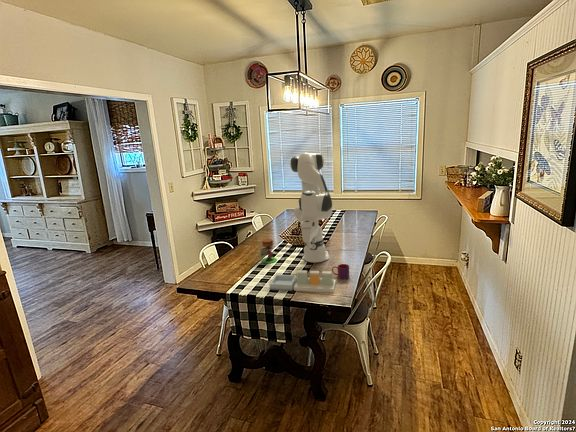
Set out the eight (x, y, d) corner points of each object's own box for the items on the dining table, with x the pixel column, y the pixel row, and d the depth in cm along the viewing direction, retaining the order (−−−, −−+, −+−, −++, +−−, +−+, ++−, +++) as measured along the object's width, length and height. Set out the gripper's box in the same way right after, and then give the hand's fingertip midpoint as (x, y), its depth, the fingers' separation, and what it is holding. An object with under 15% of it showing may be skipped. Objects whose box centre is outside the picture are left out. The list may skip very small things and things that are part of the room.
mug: (348, 279, 188) (348, 268, 187) (331, 278, 192) (331, 267, 190) (350, 274, 194) (349, 264, 193) (333, 273, 198) (333, 263, 196)
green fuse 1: (299, 281, 186) (298, 270, 184) (307, 281, 184) (307, 270, 183) (298, 283, 183) (297, 272, 181) (306, 284, 181) (306, 272, 180)
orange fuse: (311, 282, 184) (310, 270, 182) (319, 282, 182) (319, 270, 181) (310, 284, 181) (309, 272, 179) (319, 284, 180) (318, 273, 178)
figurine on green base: (280, 257, 231) (278, 237, 228) (274, 264, 219) (272, 243, 216) (264, 256, 234) (262, 237, 231) (258, 263, 223) (256, 242, 219)
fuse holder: (298, 281, 191) (298, 273, 189) (335, 282, 185) (335, 274, 184) (293, 290, 179) (293, 282, 178) (333, 292, 174) (333, 284, 173)
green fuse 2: (323, 282, 182) (322, 271, 180) (332, 283, 181) (331, 271, 179) (322, 285, 179) (322, 273, 178) (331, 285, 178) (331, 273, 176)
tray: (276, 279, 195) (275, 274, 194) (297, 280, 191) (296, 275, 191) (269, 289, 182) (269, 284, 182) (292, 290, 179) (291, 285, 178)
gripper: (309, 216, 185) (311, 239, 188) (299, 225, 166) (300, 250, 169) (320, 216, 183) (321, 240, 186) (311, 225, 164) (312, 251, 167)
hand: (311, 245), depth 177 cm, fingers open, 8 cm apart
